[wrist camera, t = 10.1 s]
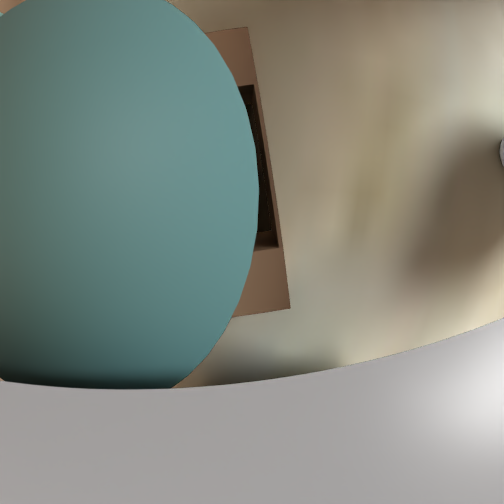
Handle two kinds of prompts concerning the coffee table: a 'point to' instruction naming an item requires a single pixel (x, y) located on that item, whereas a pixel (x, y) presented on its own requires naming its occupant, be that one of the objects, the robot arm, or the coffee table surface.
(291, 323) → the coffee table surface
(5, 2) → the board
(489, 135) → the coffee table surface
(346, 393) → the white rectangular block
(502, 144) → the toy figure
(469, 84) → the coffee table surface
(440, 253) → the coffee table surface
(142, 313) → the board
